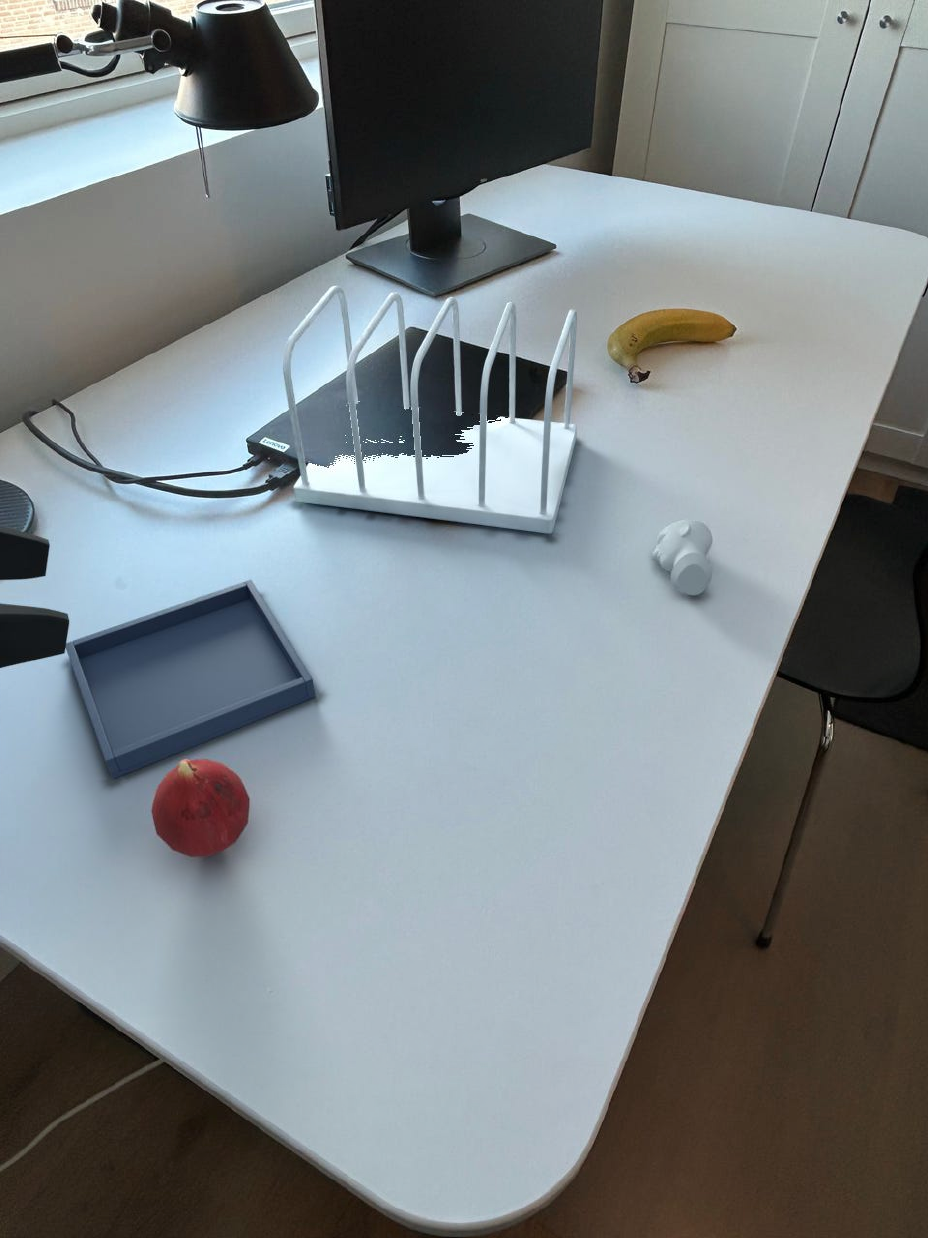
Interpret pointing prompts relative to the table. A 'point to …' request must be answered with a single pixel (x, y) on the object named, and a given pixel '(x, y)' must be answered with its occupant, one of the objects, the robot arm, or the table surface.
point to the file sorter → (470, 482)
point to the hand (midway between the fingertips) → (56, 593)
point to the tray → (186, 676)
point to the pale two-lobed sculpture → (685, 555)
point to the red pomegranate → (200, 808)
